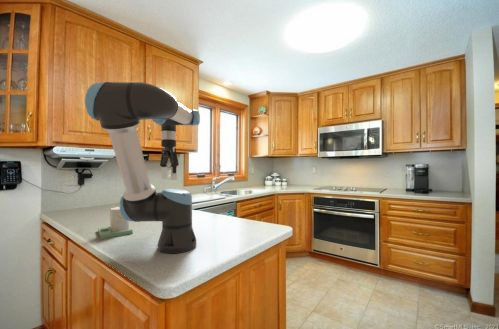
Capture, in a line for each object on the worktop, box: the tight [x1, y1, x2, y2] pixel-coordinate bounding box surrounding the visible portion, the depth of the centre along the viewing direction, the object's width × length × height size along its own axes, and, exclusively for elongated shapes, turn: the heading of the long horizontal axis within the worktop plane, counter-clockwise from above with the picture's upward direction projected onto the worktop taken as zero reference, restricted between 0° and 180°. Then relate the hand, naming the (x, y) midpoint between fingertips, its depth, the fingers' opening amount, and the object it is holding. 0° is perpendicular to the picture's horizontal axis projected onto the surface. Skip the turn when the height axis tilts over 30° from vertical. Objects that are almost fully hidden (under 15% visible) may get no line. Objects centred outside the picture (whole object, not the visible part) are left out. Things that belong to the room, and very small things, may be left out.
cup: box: [109, 206, 130, 232], centre depth 114 cm, size 8×8×12 cm
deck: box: [97, 225, 133, 240], centre depth 113 cm, size 16×13×3 cm
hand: (168, 179), depth 121 cm, fingers open, 13 cm apart
